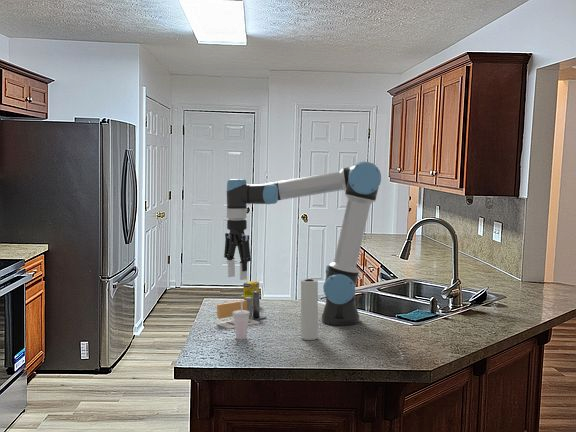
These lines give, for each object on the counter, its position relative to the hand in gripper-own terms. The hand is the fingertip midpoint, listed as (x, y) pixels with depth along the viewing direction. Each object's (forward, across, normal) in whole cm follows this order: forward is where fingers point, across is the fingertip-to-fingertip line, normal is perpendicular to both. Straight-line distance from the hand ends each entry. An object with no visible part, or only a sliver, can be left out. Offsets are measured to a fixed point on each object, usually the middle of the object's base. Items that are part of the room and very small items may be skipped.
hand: (237, 277), depth 254 cm
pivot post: (+19, +8, -14) cm, 25 cm away
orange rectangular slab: (+18, +8, -4) cm, 20 cm away
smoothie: (+19, -15, +8) cm, 26 cm away
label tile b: (+19, +4, +2) cm, 20 cm away
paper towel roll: (+19, -30, -12) cm, 38 cm away
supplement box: (+20, +28, -25) cm, 42 cm away
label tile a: (+19, +4, -7) cm, 21 cm away
